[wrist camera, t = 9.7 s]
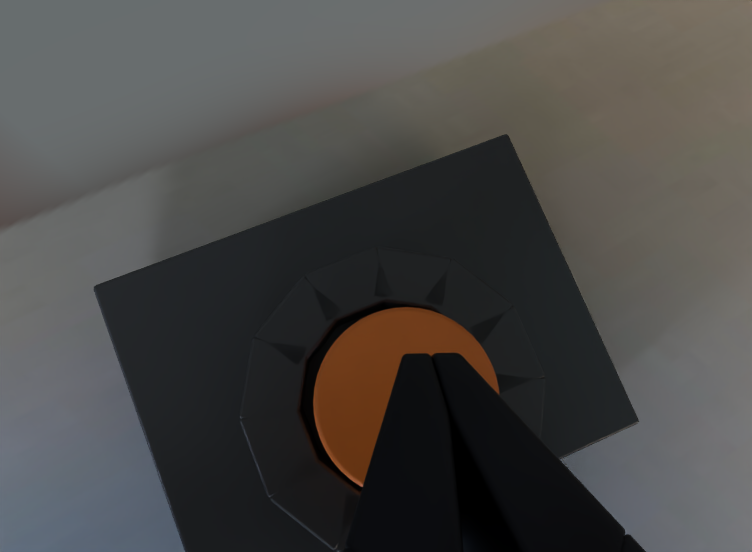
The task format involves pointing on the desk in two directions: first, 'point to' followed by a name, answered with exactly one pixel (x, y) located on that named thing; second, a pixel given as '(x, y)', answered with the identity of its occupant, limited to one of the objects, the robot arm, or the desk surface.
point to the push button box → (328, 321)
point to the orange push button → (379, 377)
